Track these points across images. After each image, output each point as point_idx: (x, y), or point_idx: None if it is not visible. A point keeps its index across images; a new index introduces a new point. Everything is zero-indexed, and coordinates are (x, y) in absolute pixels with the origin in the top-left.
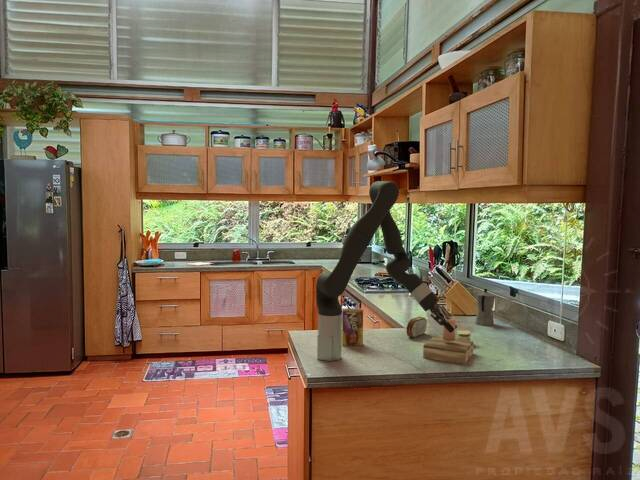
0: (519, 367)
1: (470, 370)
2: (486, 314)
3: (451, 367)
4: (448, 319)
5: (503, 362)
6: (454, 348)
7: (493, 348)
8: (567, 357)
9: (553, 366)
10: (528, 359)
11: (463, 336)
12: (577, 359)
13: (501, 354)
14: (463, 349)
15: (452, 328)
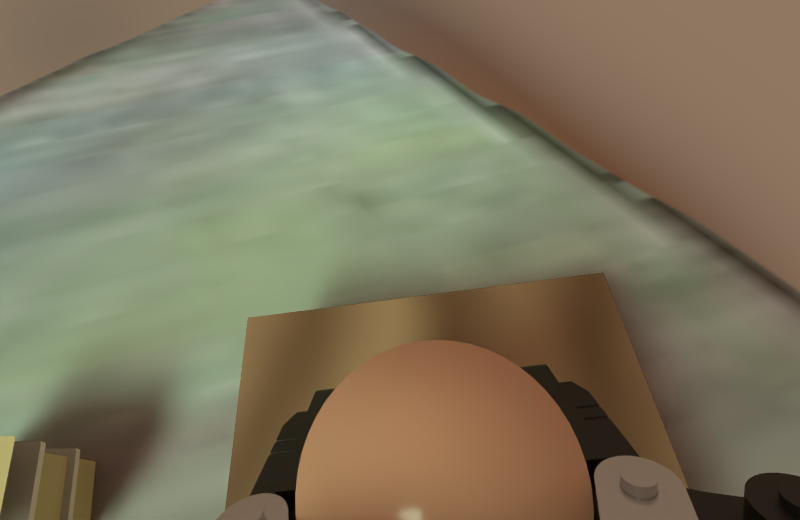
0: (428, 108)
1: (678, 249)
2: None
3: (737, 367)
4: (428, 513)
5: (389, 171)
6: (609, 371)
7: (114, 284)
8: (180, 42)
9: (332, 42)
10: (274, 115)
11: (7, 490)
12: (196, 21)
13: (236, 217)
14: (574, 296)
15: (553, 384)
